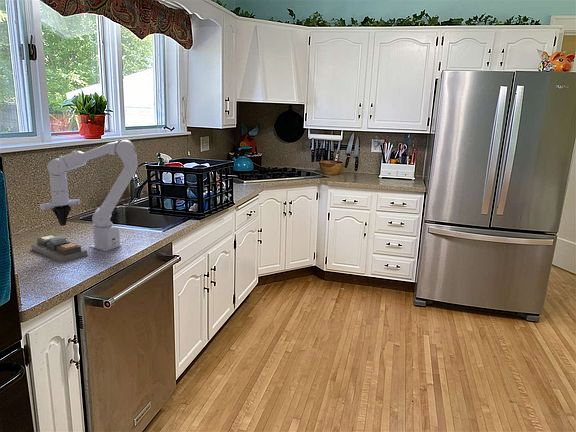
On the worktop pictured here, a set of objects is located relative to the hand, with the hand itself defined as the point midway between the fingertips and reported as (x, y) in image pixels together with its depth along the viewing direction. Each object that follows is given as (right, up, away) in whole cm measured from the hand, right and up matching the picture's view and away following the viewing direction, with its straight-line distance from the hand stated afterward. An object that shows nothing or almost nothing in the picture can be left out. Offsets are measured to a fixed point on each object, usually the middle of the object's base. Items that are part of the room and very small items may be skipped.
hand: (62, 225), depth 162 cm
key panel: (0, -10, -2) cm, 11 cm away
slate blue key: (0, -7, -3) cm, 7 cm away
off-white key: (-6, -7, +1) cm, 9 cm away
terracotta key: (+6, -9, -7) cm, 13 cm away
